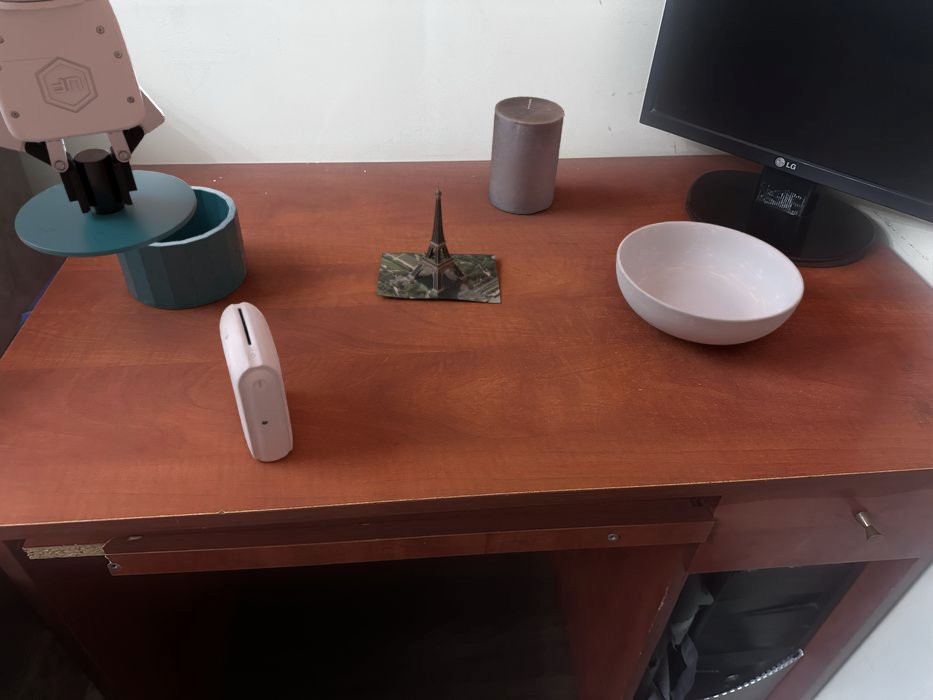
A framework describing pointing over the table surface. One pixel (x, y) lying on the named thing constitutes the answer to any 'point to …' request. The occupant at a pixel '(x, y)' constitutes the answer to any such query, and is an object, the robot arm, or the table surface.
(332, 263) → the table surface
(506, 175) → the pillar candle
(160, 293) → the pot
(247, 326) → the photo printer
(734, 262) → the serving bowl
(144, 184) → the lid
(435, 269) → the eiffel tower figurine
